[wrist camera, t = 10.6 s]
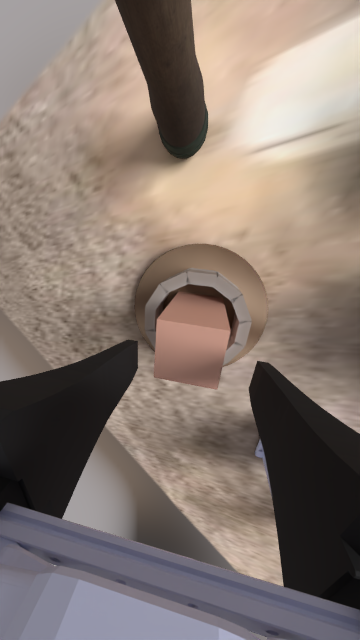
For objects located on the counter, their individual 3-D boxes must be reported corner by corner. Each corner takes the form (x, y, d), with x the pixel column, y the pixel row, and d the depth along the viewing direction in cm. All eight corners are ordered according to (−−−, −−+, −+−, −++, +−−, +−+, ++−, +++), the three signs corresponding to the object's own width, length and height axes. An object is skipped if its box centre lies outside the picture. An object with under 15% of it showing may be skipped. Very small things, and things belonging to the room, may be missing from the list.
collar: (247, 374, 22) (254, 399, 18) (137, 354, 23) (124, 374, 20) (283, 251, 16) (304, 252, 13) (138, 237, 18) (119, 234, 14)
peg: (215, 337, 20) (217, 389, 12) (175, 330, 20) (153, 377, 13) (222, 297, 18) (230, 330, 10) (178, 291, 18) (156, 319, 11)
